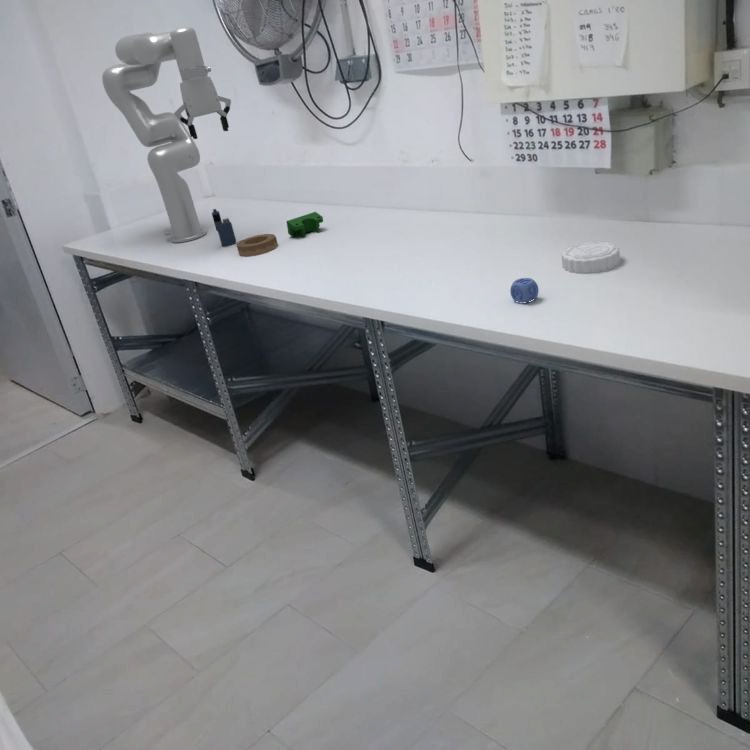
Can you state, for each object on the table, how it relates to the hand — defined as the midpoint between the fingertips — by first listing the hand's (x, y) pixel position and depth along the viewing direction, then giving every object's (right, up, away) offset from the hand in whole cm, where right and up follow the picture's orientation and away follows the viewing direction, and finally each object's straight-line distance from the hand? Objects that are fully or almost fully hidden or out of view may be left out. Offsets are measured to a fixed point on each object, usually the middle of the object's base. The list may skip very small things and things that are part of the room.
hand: (210, 134), depth 221 cm
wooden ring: (+14, -34, +3) cm, 37 cm away
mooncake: (+96, -49, -62) cm, 124 cm away
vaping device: (+2, -30, +16) cm, 35 cm away
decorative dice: (+80, -57, -74) cm, 123 cm away
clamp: (+28, -28, +10) cm, 41 cm away
